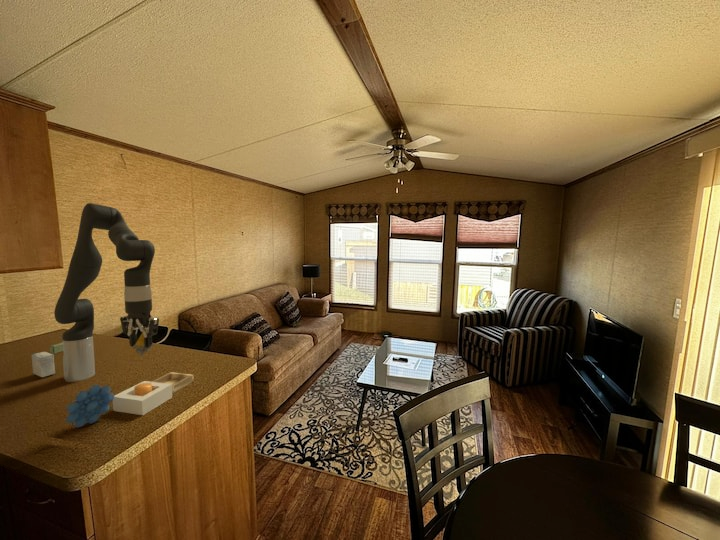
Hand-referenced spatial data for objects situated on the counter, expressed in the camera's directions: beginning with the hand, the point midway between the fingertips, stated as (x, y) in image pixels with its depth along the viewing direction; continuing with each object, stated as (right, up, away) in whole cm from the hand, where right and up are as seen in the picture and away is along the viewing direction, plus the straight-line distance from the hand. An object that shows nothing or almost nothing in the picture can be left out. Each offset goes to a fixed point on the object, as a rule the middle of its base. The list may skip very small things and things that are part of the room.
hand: (140, 346), depth 105 cm
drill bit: (0, -4, 0) cm, 4 cm away
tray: (+1, -20, +15) cm, 25 cm away
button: (0, -19, +2) cm, 19 cm away
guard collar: (0, -21, +2) cm, 21 cm away
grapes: (-9, -22, -9) cm, 25 cm away
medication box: (-77, -15, +53) cm, 95 cm away
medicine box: (-59, -18, +24) cm, 66 cm away
